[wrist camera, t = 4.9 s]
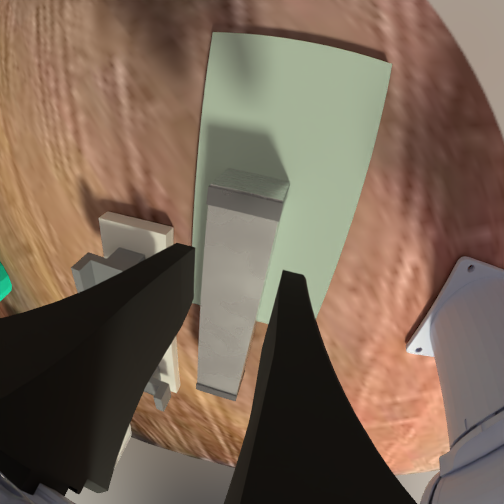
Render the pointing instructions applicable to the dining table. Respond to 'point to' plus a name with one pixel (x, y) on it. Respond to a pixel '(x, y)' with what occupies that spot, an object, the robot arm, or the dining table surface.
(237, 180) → the rail
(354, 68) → the mat
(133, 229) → the standards
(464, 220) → the dining table surface
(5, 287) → the candle
